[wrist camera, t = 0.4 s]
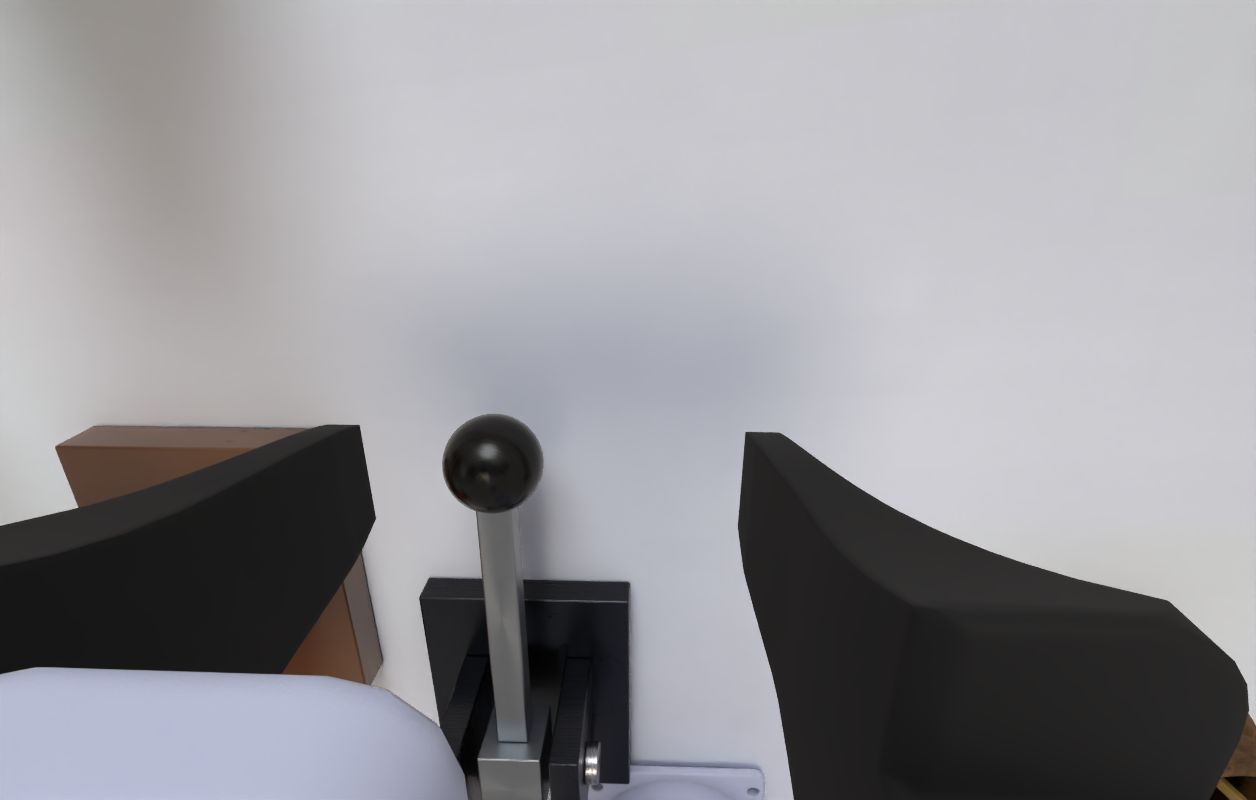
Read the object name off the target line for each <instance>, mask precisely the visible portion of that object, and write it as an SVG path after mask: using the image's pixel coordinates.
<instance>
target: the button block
mask: <svg viewBox="0 0 1256 800" xmlns="http://www.w3.org/2000/svg"><path fill="white" fill-rule="evenodd" d="M305 430H308V429H289V428H204V427H120V426H93V427H91V428H89V429H87V430H86V431H84V432H82V433H80V434H78V435H76V436H74V437H72V438H70V439H68V440H66V441H64V442H63V443H61V444H59V445H57V446H56V447H55V449H56V452H57V454H58V457H59V459H60V462H61V464H62V467H63V469H64V472H65V474H66V477H67V480H68V482H69V485H70V487H71V490H72V492H73V495H74V497H75V500H76V502H77V505H78V507H79V508H80V507H84V506H87V505H91V504H95V503H98V502H102V501H105V500H109V499H112V498H116V497H119V496H123V495H126V494H129V493H133V492H136V491H139V490H142V489H145V488H149V487H152V486H155V485H158V484H161V483H164V482H166V481H169V480H172V479H175V478H178V477H180V476H183V475H186V474H189V473H191V472H194V471H197V470H200V469H203V468H205V467H208V466H211V465H214V464H217V463H219V462H222V461H225V460H227V459H230V458H232V457H235V456H238V455H240V454H243V453H245V452H248V451H250V450H253V449H256V448H258V447H261V446H263V445H266V444H269V443H271V442H274V441H277V440H279V439H282V438H285V437H287V436H290V435H293V434H296V433H299V432H301V431H305ZM381 664H382V656H381V651H380V646H379V642H378V637H377V632H376V627H375V622H374V617H373V612H372V607H371V602H370V597H369V592H368V587H367V582H366V577H365V572H364V567H363V562H362V557H361V553H360V555H359V557H358V559H357V561H356V563H355V564H354V566H353V567H352V569H351V571H350V572H349V574H348V575H347V577H346V578H345V580H344V581H343V583H342V584H341V586H340V587H339V589H338V590H337V592H336V593H335V595H334V596H333V598H332V599H331V601H330V602H329V604H328V605H327V607H326V608H325V610H324V611H323V613H322V614H321V616H320V617H319V619H318V620H317V622H316V623H315V625H314V626H313V627H312V629H311V630H310V632H309V633H308V635H307V636H306V638H305V639H304V641H303V642H302V644H301V645H300V647H299V648H298V650H297V651H296V653H295V654H294V656H293V657H292V659H291V660H290V662H289V663H288V665H287V667H286V668H285V670H284V671H283V673H282V675H314V676H330V677H334V678H339V679H343V680H348V681H352V682H356V683H361V684H365V685H370V686H371V684H372V682H373V680H374V678H375V676H376V674H377V672H378V670H379V668H380V666H381Z"/></svg>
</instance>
